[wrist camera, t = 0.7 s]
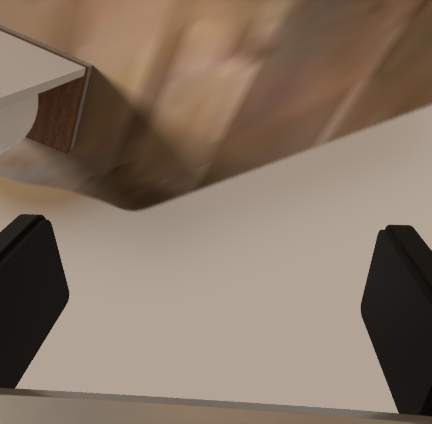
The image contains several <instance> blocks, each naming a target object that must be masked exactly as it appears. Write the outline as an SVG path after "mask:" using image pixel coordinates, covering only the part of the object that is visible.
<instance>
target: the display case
mask: <svg viewBox="0 0 432 424" xmlns="http://www.w3.org/2000/svg"><path fill="white" fill-rule="evenodd" d="M92 66H93V65H91V64H89V63H86V62H84V61H82V60H79V59H77V58H75V57H72V56H70V55H68V54H66V53H63V52H61V51H59V50H56V49H54V48H52V47H50V46H47V45H45V44H43V43H40V42H38V41H36V40H33V39H31V38H29V37H27V36H24V35H22V34H20V33H17V32H15V31H13V30H10V29H8V28H6V27H4V26H1V25H0V154H2V153H3V152H5V151H7V150H9V149H10V148H12V147H14V146H15V145H17V144H18V143H19V142H20V141H21V140H22V139H23V138H24V137H27V138H30V139H32V140H35V141H37V142H40V143H42V144H45V145H47V146H50V147H52V148H55V149H57V150H60V151H62V152H65V153H68V152H69V151H70V150H72V149H73V148H74V145H75V140H76V136H77V131H78V127H79V123H80V118H81V114H82V110H83V105H84V101H85V96H86V92H87V88H88V83H89V79H90V75H91V70H92Z"/></svg>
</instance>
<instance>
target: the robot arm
mask: <svg viewBox="0 0 432 424" xmlns="http://www.w3.org/2000/svg"><path fill="white" fill-rule="evenodd" d="M68 299H69V289H68V286H67V282H66V278H65V274H64V270H63V266H62V263H61V259H60V255H59V251H58V247H57V243H56V239H55V236H54V232H53V228H52V224H51V222H50V221H49V220H46V219H45V217H44V216H43V215H30V214H29V215H28V214H22V215H19V216H18V217H17V218H16V219H15V220H13V221H12V222H11V223H10V224H9V225H8V226H7V227H6V228H5V229H3V230H2V231H1V232H0V424H432V251H431V250H430V248H429V247H428V246H427V244H426V243H425V242H424V241H423V239H422V238H421V237H420V235H419V234H418V233H417V232H416V231H415V229H414V228H413V227H412V226H410V225H388V226H387V227H386V229H385V230H380V231H379V233H378V236H377V241H376V245H375V248H374V253H373V257H372V261H371V265H370V269H369V274H368V277H367V282H366V286H365V290H364V294H363V298H362V303H361V315H362V318H363V321H364V323H365V326H366V329H367V331H368V334H369V336H370V339H371V341H372V344H373V347H374V349H375V352H376V355H377V357H378V360H379V363H380V365H381V368H382V370H383V373H384V376H385V378H386V381H387V383H388V386H389V389H390V391H391V394H392V397H393V399H394V402H395V404H396V407H397V410H398V412H399V414H397V413H385V412H373V411H361V410H349V409H333V408H320V407H305V406H290V405H275V404H260V403H246V402H230V401H214V400H199V399H182V398H167V397H148V396H133V395H117V394H101V393H83V392H65V391H48V390H30V389H15V387H16V386H17V384H18V382H19V381H20V379H21V378H22V376H23V374H24V373H25V371H26V369H27V368H28V366H29V364H30V363H31V361H32V360H33V358H34V356H35V355H36V353H37V352H38V350H39V348H40V347H41V345H42V343H43V341H44V340H45V339H46V337H47V335H48V334H49V332H50V330H51V329H52V327H53V325H54V324H55V322H56V321H57V319H58V317H59V316H60V314H61V312H62V311H63V309H64V308H65V306H66V304H67V302H68Z"/></svg>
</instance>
